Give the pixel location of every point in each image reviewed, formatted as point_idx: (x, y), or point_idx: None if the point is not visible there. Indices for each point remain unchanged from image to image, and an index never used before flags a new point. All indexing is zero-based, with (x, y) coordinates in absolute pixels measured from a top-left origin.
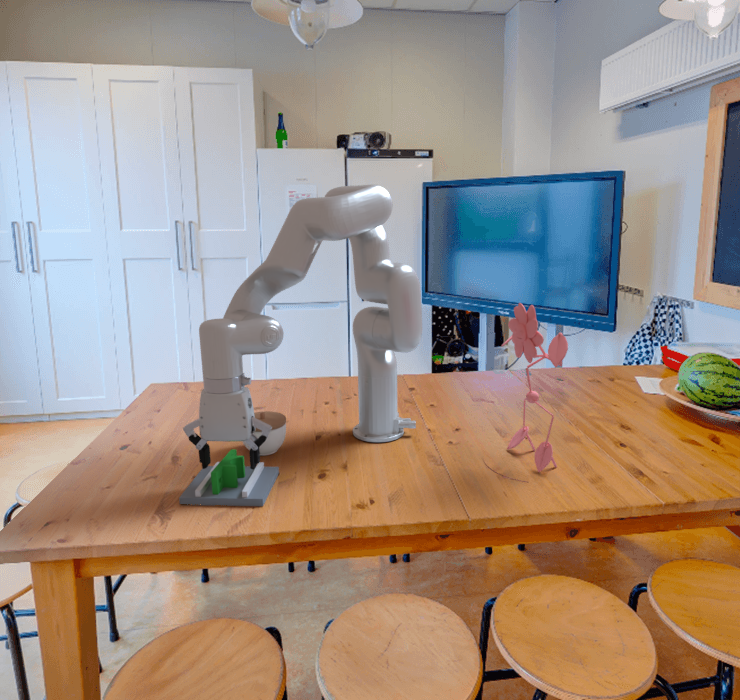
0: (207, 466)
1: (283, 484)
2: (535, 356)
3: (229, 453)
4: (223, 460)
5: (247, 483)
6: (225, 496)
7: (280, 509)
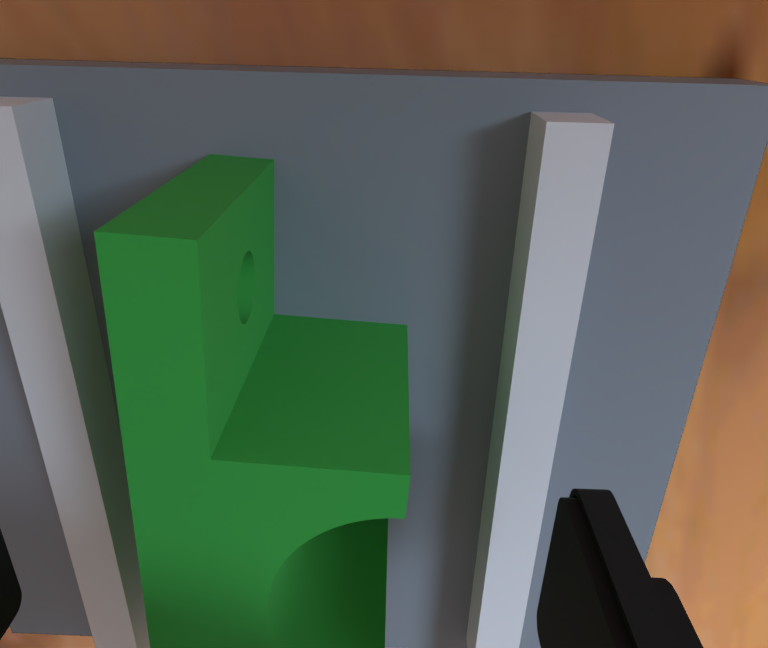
0: (12, 565)
1: (765, 324)
2: None
3: (148, 402)
4: (170, 596)
5: (492, 587)
6: None
7: (715, 634)
